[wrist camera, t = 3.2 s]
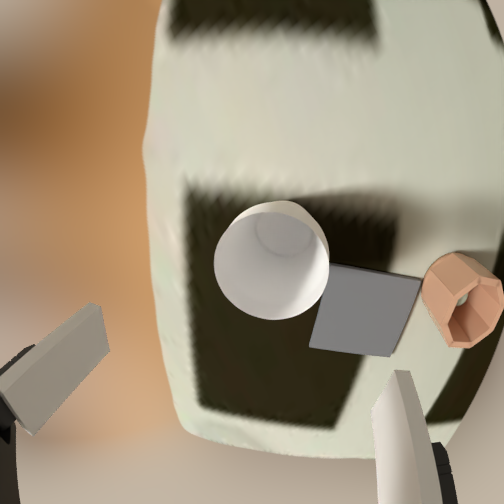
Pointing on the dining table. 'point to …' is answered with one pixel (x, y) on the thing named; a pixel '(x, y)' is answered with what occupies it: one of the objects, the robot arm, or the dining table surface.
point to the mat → (363, 310)
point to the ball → (462, 299)
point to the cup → (273, 260)
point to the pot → (453, 288)
